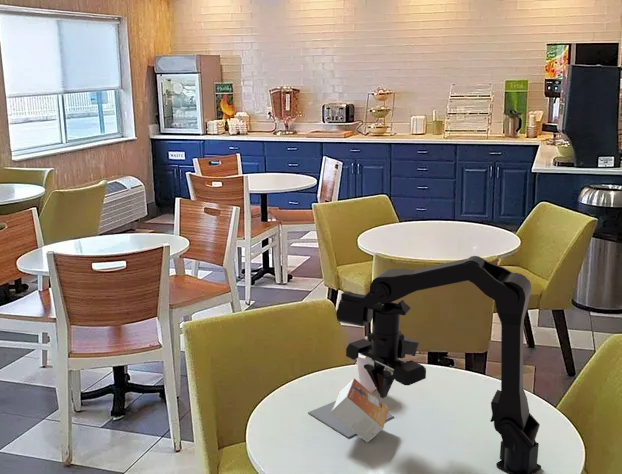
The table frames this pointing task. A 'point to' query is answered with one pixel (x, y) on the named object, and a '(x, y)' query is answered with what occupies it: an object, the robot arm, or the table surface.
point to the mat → (335, 419)
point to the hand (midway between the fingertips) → (383, 397)
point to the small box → (360, 410)
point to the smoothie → (364, 373)
